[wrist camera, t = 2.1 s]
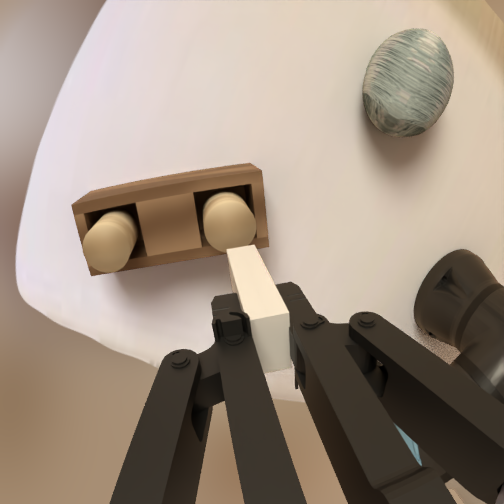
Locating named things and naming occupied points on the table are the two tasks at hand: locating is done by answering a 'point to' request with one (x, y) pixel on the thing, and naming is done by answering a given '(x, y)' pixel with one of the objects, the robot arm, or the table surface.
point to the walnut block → (173, 212)
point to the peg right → (228, 221)
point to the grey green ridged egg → (408, 83)
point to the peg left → (111, 241)
